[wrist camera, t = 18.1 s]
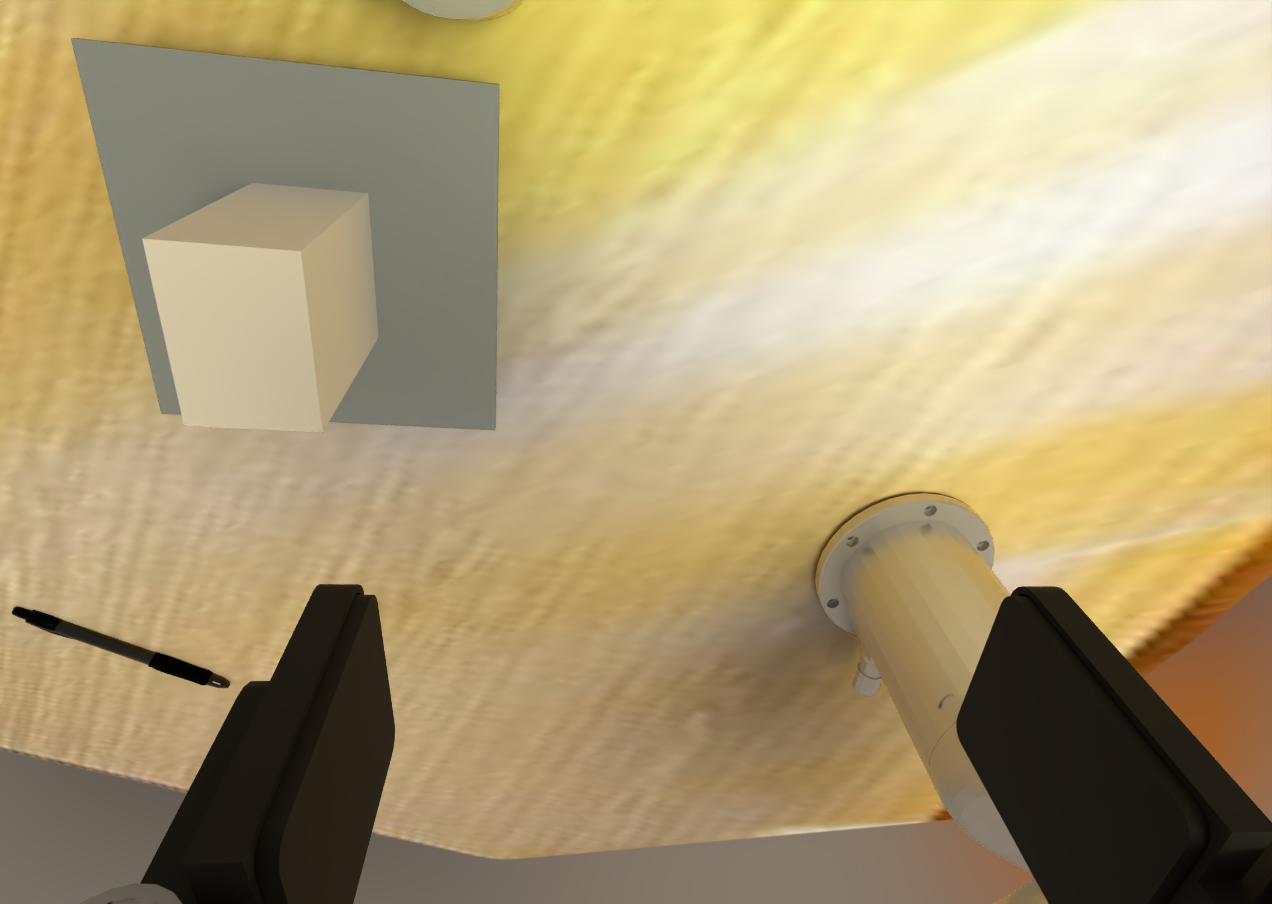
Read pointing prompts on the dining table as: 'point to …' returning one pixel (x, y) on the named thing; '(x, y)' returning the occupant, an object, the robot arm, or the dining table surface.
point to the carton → (266, 305)
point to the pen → (121, 648)
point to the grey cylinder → (465, 8)
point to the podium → (325, 159)
